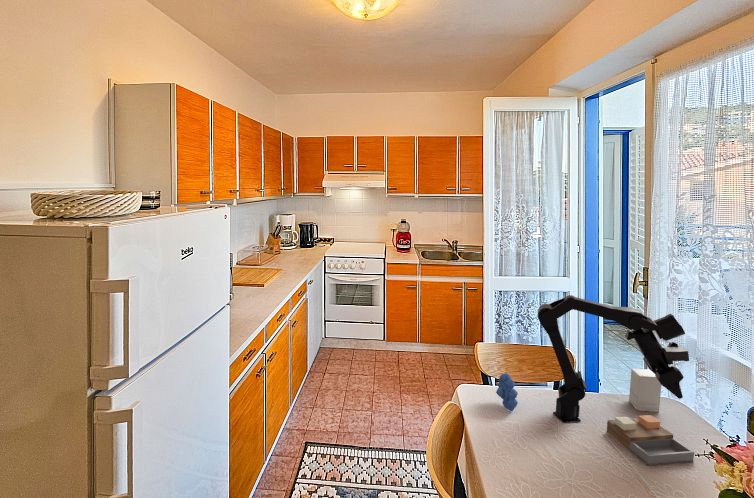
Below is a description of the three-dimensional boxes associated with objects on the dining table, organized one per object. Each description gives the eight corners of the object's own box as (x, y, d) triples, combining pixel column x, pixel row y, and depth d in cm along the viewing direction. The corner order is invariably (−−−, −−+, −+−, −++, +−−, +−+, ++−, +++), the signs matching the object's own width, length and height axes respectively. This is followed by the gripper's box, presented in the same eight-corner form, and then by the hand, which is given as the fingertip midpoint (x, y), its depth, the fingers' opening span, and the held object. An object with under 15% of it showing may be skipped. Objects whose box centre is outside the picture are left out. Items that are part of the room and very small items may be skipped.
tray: (648, 466, 117) (649, 455, 117) (629, 450, 124) (630, 441, 124) (693, 462, 119) (694, 452, 118) (672, 447, 126) (673, 437, 126)
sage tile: (623, 430, 128) (624, 424, 127) (614, 423, 132) (615, 417, 131) (635, 429, 128) (636, 423, 128) (626, 422, 132) (627, 416, 132)
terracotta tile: (647, 428, 129) (648, 422, 129) (638, 421, 133) (638, 415, 132) (659, 427, 129) (660, 421, 129) (649, 421, 133) (650, 415, 133)
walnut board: (629, 450, 124) (630, 437, 124) (606, 432, 134) (607, 420, 133) (672, 447, 126) (673, 434, 125) (646, 429, 136) (647, 417, 135)
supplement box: (659, 412, 147) (662, 377, 145) (636, 410, 148) (639, 375, 147) (650, 402, 154) (653, 369, 152) (628, 400, 155) (630, 367, 154)
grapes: (488, 400, 154) (489, 369, 153) (505, 399, 156) (507, 368, 154) (502, 416, 143) (504, 382, 142) (521, 415, 144) (523, 381, 143)
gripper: (687, 345, 120) (717, 395, 119) (667, 328, 138) (692, 371, 137) (647, 360, 124) (675, 408, 123) (632, 341, 141) (656, 383, 140)
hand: (675, 391), depth 130 cm, fingers open, 9 cm apart
